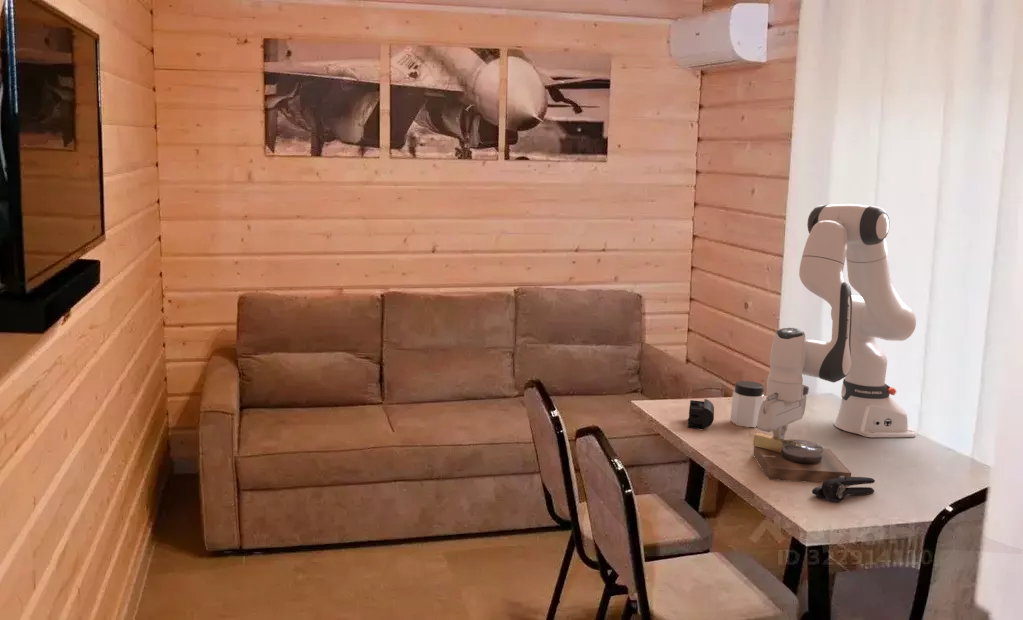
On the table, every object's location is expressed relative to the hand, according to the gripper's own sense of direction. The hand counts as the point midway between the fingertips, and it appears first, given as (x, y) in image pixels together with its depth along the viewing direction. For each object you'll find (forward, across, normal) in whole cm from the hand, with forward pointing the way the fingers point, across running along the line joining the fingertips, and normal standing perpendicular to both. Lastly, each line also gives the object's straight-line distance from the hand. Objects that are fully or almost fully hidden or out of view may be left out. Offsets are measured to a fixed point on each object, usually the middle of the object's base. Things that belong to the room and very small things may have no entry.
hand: (778, 441), depth 250 cm
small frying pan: (+1, -3, -4) cm, 5 cm away
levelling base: (+5, -3, -8) cm, 10 cm away
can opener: (+5, -12, -24) cm, 28 cm away
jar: (+5, +22, +21) cm, 31 cm away
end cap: (+5, +10, +29) cm, 31 cm away
